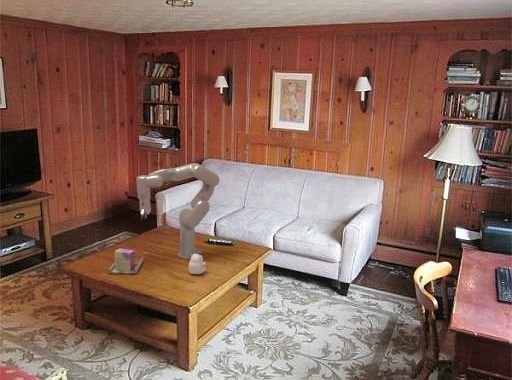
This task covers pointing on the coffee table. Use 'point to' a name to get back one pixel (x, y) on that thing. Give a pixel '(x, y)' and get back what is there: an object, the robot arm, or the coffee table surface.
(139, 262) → the rack
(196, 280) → the coffee table surface
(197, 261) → the figurine
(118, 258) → the box
